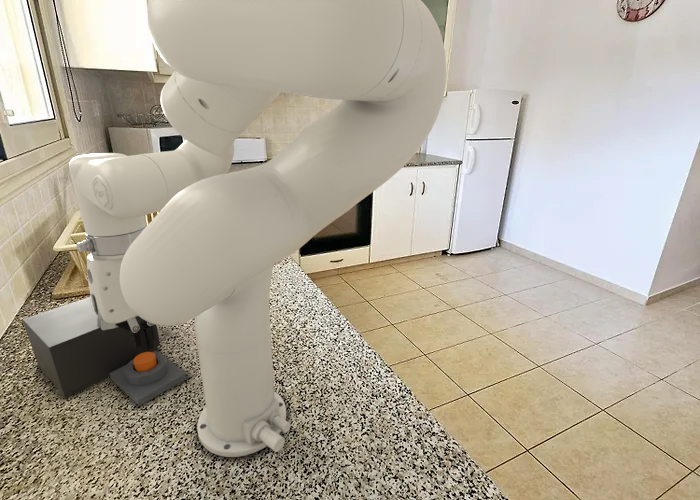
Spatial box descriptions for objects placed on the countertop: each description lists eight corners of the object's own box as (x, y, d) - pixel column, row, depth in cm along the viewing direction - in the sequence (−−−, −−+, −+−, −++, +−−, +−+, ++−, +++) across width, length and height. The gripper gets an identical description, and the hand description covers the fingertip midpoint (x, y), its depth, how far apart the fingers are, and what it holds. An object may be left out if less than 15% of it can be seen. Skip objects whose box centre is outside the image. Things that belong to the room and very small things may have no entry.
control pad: (187, 378, 64) (184, 364, 63) (139, 406, 58) (135, 390, 57) (157, 355, 69) (154, 342, 68) (110, 378, 63) (106, 364, 62)
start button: (160, 365, 63) (158, 356, 62) (141, 375, 60) (139, 366, 60) (150, 357, 65) (149, 349, 64) (131, 367, 62) (129, 358, 62)
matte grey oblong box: (125, 329, 77) (115, 288, 73) (156, 353, 70) (147, 308, 66) (38, 366, 66) (22, 319, 62) (65, 398, 59) (48, 347, 55)
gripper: (70, 262, 47) (104, 381, 53) (182, 232, 58) (199, 334, 64) (49, 250, 51) (83, 362, 57) (157, 224, 62) (176, 320, 68)
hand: (145, 347), depth 61 cm, fingers closed
